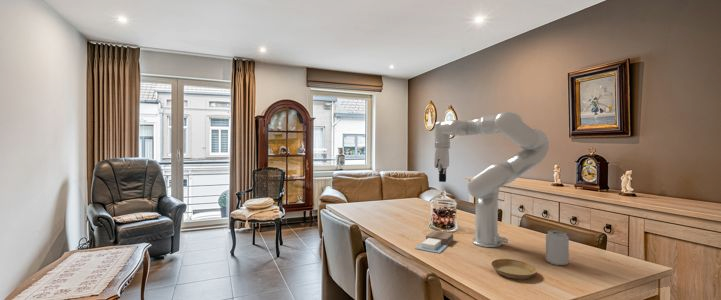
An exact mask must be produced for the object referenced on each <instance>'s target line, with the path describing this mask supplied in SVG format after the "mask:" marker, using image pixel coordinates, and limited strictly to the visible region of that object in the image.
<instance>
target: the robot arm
mask: <svg viewBox="0 0 721 300" xmlns="http://www.w3.org/2000/svg"><path fill="white" fill-rule="evenodd" d="M493 134H495V135H496V134H503V135H504V136H505V137H507V138H508V139H509V140H510V141H512V142H513V143H514V144H515V145H517V146H518V147H519V148H521V149H522V150H520V151H519V152H517V153H515V154H514V155H513V156H512V157H510V158H508V159H506V160H505V161H502V162H497V163H494V164H491V165H490V166H488V167H487V168H485V169H483V170H482V171H481V172H479V173H477V175H475V176H474V177H472V178H471V179H470V180H469V181H468V183H467V191H468V193H469V195H470V196H472V197H474V198H475V237H473V238H471V242H472V243H473V244H474V245H476V246H479V247H483V248H484V247H485V248H498V247H499V248H500V247H501V246H502V243H505V244H508V243H509V239H508V238H507V237H502V236H501V235H500V233H499V232H498V228H499V227H498V226H499V225H498V221H499V220H498V214H499V213H498V212H499V211H498V209H499V203H498V202H499V193H500V188H502V187H503V186H505V185H507V184H510V183H513V182H514V181H516V180H517V178H520V177H521V176H523V175H524V174H526V173H527V172H529V171H530V170H531V169H533V168H534V167H536V166H537V165H540V163H541V162H543V160H544V159H545V158H546V156H547V154H548V151H549V149H550V142H549V141H550V140H549V138H548V135H547V134H546V133H545V132H544V131H543V130H541V129H537V128H532V127H531V126H529V125H527V124H526V123H525V122H523V119H522V116H521V115H520V114H518V113H516V112H512V111H511V112H510V111H503V112H500V113H498V114H491V115H483V116H481V117H480V118H476V119H469V120H458V119H457V120H456V119H450V120H447V121H443V120H442V121H436V122H435V123H434V149H435V151H434V152H435V153H434V164H433V165H434V168H435V169H437V171H438V181H439V183H446V182H447V169H448V168H449V166H450V153H449V152H450V150H449V149H451V136H459V137H461V136H477V135H493Z"/></svg>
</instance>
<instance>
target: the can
mask: <svg viewBox="0 0 721 300" xmlns="http://www.w3.org/2000/svg"><path fill="white" fill-rule="evenodd" d="M569 245H570V238H569V236H568V233H567V232H565V231H560V230H554V229H553V230H548V231H547V233H546V234H545V260H546V261H547V262H548V263H549V262H550V263H549V264H551V263H552V265H553V264H555V265H554V266H558V265H564V266H566V265H568V264H569V263H570V262H569V260H570V257H569V255H570V254H569V251H570V247H569Z"/></svg>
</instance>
